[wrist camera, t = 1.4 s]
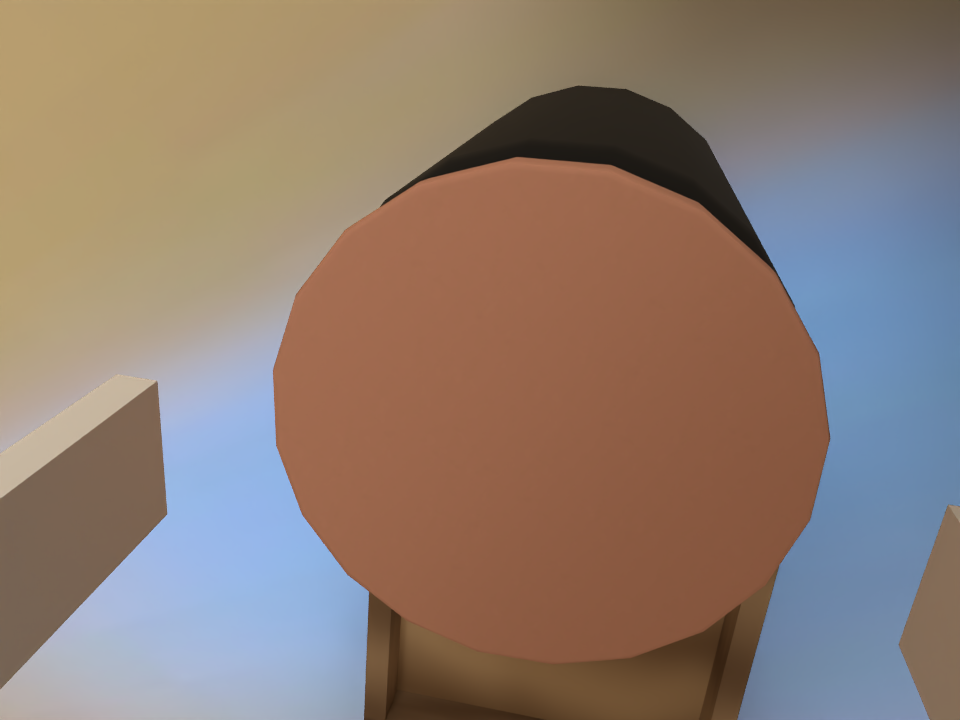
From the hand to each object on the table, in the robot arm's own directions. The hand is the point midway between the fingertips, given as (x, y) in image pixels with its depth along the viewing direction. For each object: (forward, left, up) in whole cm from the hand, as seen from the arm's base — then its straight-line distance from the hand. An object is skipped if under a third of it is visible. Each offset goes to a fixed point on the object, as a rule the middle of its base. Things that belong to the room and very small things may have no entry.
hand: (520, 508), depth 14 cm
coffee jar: (0, 0, -20) cm, 20 cm away
